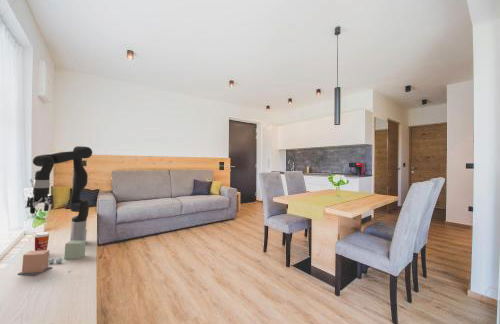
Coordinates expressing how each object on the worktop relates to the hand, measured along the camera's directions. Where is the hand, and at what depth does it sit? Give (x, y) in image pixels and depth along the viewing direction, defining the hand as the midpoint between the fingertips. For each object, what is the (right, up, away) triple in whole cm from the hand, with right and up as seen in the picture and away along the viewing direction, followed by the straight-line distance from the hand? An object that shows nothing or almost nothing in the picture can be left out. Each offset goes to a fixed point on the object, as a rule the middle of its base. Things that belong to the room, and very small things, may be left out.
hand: (39, 212), depth 141 cm
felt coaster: (+12, -30, -15) cm, 36 cm away
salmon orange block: (+12, -30, -15) cm, 35 cm away
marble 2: (+15, -31, -3) cm, 35 cm away
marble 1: (+11, -31, -4) cm, 33 cm away
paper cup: (-6, -30, +7) cm, 32 cm away
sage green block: (+18, -31, +6) cm, 36 cm away
